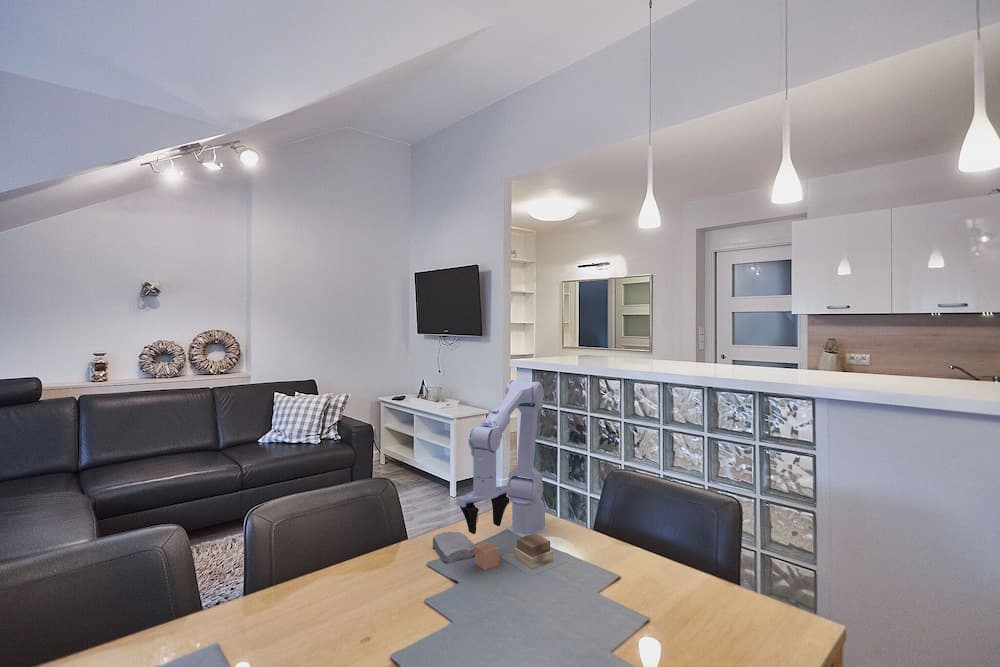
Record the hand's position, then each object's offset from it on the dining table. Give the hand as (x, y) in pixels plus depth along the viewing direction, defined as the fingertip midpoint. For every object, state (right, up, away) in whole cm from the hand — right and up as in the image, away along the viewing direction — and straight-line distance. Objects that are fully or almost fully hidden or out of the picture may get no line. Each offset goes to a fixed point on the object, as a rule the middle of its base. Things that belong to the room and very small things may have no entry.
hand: (484, 528), depth 124 cm
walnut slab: (+12, -6, +2) cm, 14 cm away
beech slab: (+12, -9, +2) cm, 15 cm away
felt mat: (+12, -9, +2) cm, 16 cm away
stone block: (-8, -10, +7) cm, 15 cm away
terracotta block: (+1, -10, 0) cm, 10 cm away
